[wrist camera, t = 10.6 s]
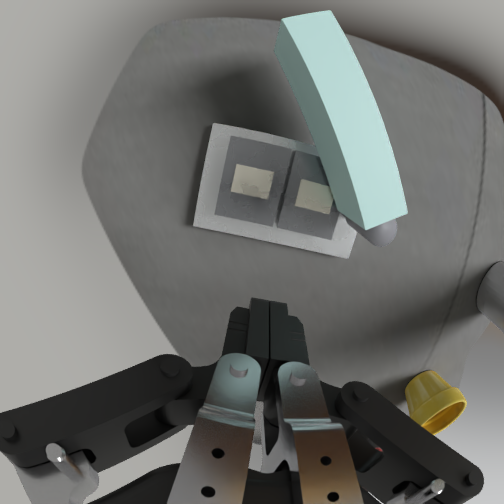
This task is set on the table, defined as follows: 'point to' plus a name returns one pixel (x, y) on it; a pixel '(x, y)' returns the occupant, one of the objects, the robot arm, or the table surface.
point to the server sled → (270, 192)
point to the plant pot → (433, 401)
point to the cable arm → (343, 123)
